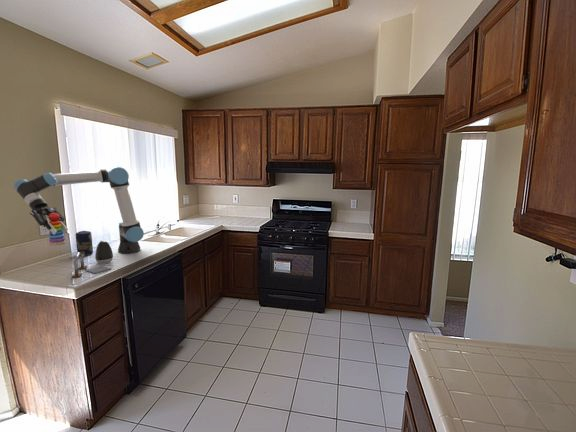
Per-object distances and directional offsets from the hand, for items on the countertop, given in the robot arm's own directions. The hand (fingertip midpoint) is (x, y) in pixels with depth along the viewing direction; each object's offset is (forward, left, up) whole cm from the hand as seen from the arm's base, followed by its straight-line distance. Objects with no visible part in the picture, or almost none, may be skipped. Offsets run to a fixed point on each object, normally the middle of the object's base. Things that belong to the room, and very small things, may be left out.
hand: (61, 231), depth 169 cm
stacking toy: (+1, -4, -8) cm, 9 cm away
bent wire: (-7, +2, -26) cm, 27 cm away
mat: (-14, +8, -26) cm, 31 cm away
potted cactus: (-25, -4, -26) cm, 37 cm away
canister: (-29, -34, -26) cm, 52 cm away
